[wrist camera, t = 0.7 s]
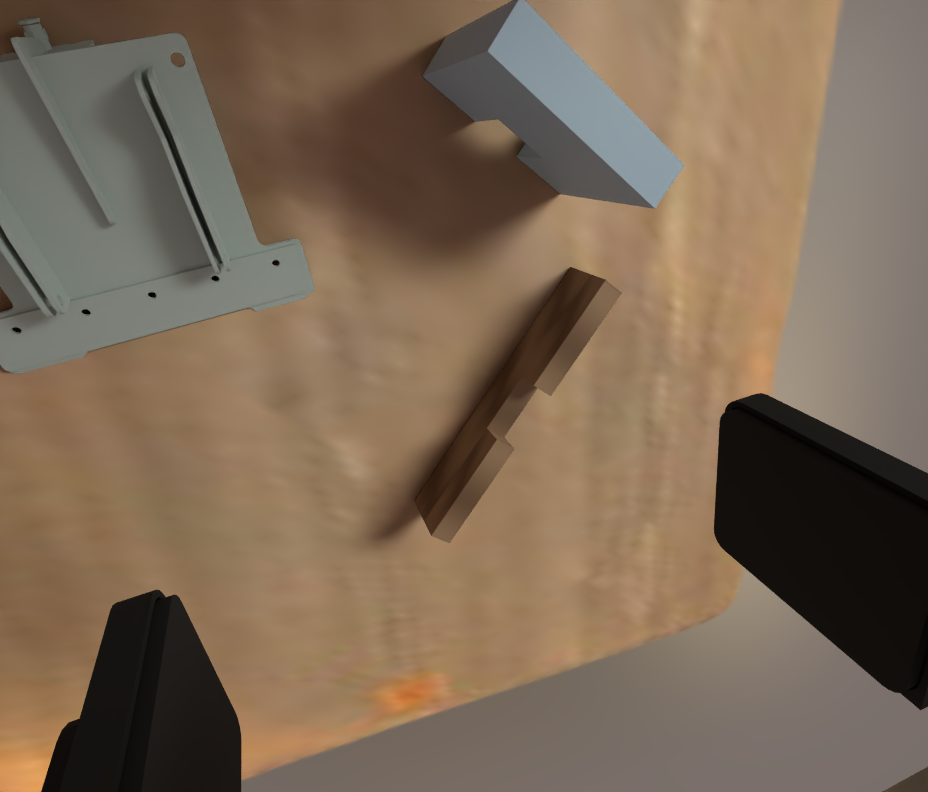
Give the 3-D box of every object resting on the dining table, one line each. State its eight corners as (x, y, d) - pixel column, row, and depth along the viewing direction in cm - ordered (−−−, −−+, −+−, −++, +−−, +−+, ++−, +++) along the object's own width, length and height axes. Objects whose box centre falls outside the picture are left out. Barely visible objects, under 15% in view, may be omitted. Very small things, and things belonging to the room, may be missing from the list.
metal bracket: (-260, 82, 18) (231, 3, 21) (-182, 48, 22) (219, -14, 26) (17, 414, 28) (327, 325, 31) (36, 347, 32) (307, 274, 35)
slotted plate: (422, 76, 29) (487, 51, 22) (445, 36, 29) (520, -4, 21) (560, 194, 34) (654, 208, 26) (582, 160, 34) (684, 165, 26)
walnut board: (570, 267, 36) (605, 279, 33) (585, 279, 37) (621, 292, 33) (414, 500, 39) (431, 535, 35) (431, 508, 39) (449, 543, 36)
